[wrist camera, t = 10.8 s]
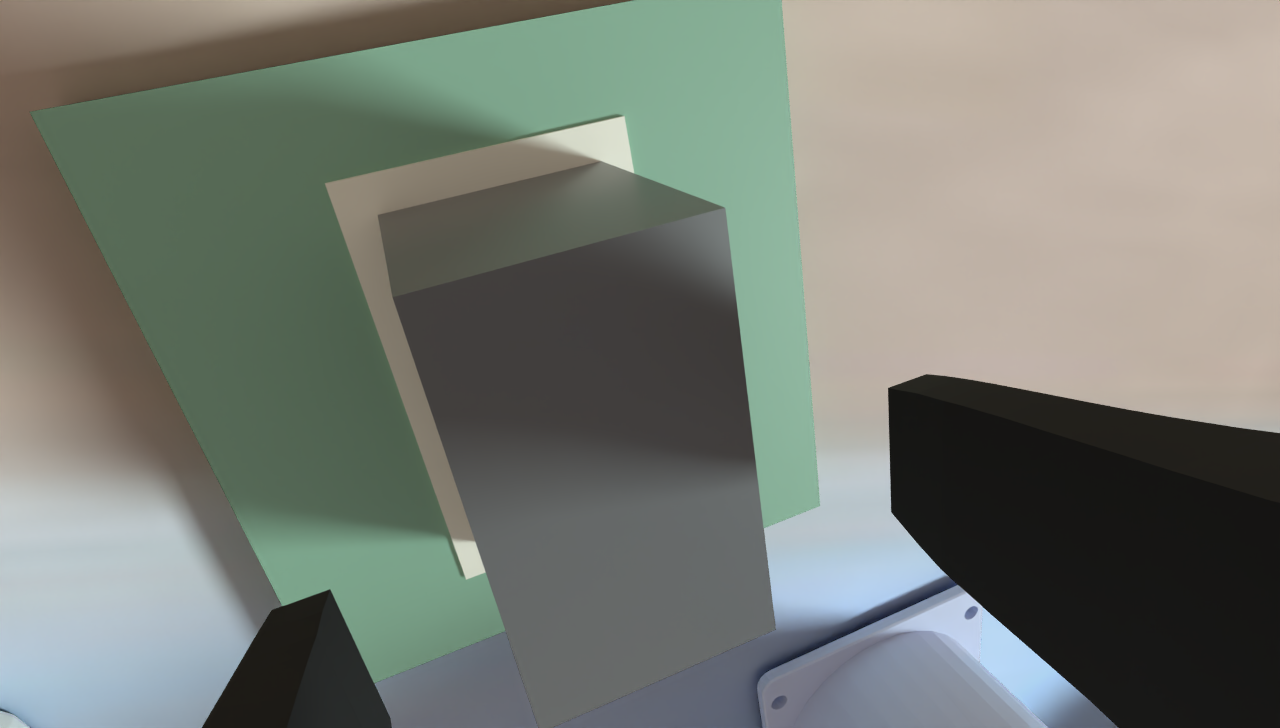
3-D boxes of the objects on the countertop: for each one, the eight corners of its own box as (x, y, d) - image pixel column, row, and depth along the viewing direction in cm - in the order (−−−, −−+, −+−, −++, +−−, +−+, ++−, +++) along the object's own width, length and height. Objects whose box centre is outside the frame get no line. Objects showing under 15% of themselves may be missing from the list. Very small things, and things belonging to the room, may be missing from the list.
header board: (794, 482, 19) (883, 564, 16) (331, 660, 16) (327, 805, 13) (748, -20, 14) (864, -46, 11) (59, 107, 11) (-59, 124, 8)
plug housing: (661, 478, 16) (775, 629, 12) (485, 542, 15) (539, 733, 11) (601, 161, 13) (725, 207, 9) (377, 214, 12) (393, 296, 8)
